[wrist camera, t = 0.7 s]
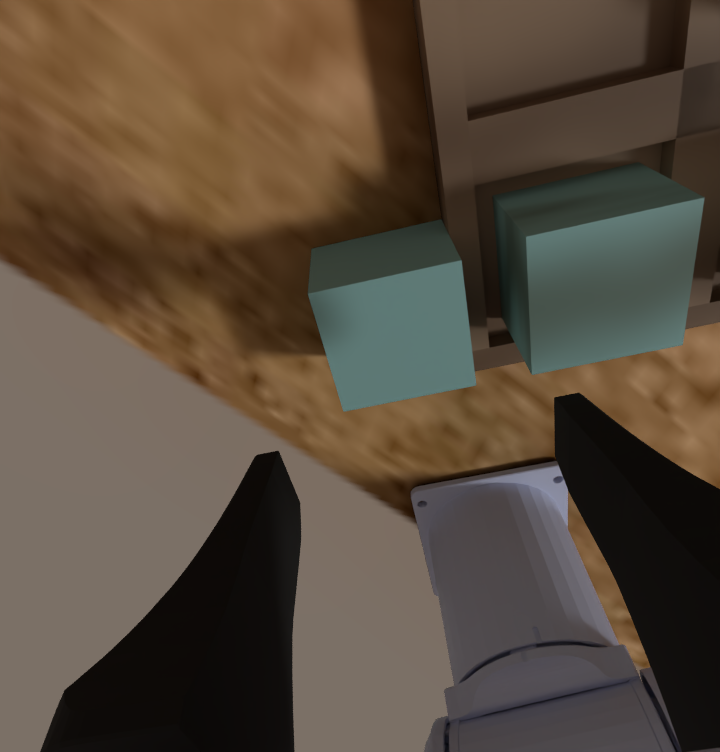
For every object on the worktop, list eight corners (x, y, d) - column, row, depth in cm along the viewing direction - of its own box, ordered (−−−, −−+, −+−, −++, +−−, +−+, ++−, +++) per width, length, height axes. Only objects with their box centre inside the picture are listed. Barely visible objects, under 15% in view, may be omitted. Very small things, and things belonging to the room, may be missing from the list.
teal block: (455, 330, 23) (476, 385, 20) (341, 354, 24) (343, 411, 20) (440, 217, 20) (461, 259, 17) (311, 247, 21) (307, 293, 18)
